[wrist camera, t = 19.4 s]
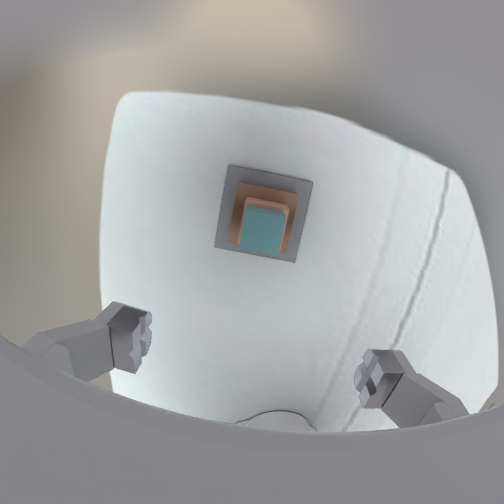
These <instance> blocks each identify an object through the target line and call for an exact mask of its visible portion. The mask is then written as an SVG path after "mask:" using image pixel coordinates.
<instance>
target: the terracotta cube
mask: <svg viewBox="0 0 504 504" xmlns="http://www.w3.org/2000/svg"><path fill="white" fill-rule="evenodd" d="M248 205H251V206H256V207H262V208H267V209H272V210H278V211H283V212H284V214H285V216H286V222H285V226H284V231H283V236H282V241H283V237H284V232H285V228H286V223H287V219H288V214H289V208H288V207H287V205H286V204H282V203H277V202H272V201H267V200H262V199H257V198H252V197H247V199H246V200H245V205H244V210H243V215H242V221H241V226H240V231H239V237H238V242H237V244H240V240H241V234H242V228H243V223H244V217H245V211H246V208H247V206H248ZM282 241H281V245H282ZM281 245H280V250H281ZM280 250H279V252H280Z"/></svg>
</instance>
